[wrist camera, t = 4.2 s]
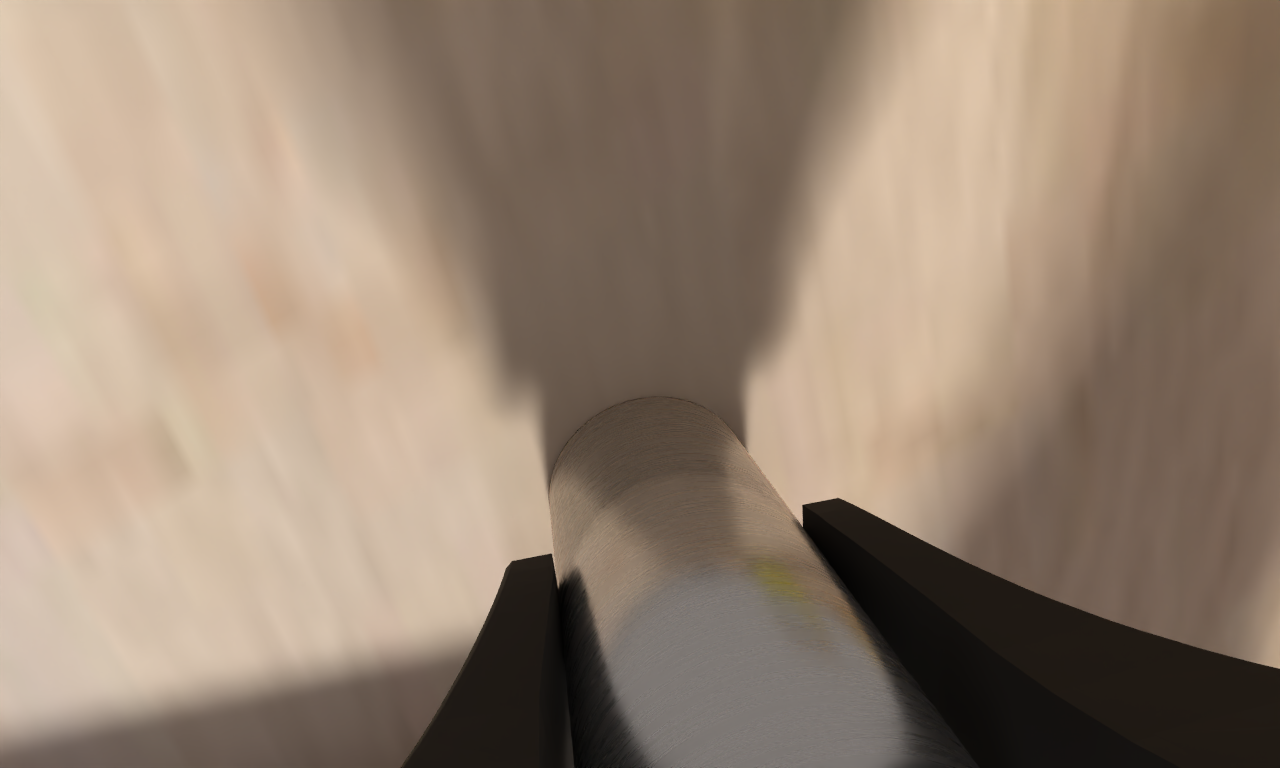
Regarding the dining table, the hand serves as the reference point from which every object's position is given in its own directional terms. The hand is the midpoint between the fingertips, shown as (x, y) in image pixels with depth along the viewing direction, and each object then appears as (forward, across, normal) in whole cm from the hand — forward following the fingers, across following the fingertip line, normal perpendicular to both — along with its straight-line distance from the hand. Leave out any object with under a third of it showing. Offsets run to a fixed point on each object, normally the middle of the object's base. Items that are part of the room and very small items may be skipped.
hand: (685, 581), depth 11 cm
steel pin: (+3, 0, 0) cm, 3 cm away
